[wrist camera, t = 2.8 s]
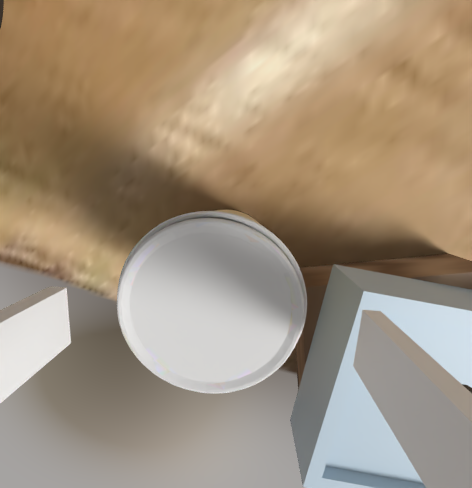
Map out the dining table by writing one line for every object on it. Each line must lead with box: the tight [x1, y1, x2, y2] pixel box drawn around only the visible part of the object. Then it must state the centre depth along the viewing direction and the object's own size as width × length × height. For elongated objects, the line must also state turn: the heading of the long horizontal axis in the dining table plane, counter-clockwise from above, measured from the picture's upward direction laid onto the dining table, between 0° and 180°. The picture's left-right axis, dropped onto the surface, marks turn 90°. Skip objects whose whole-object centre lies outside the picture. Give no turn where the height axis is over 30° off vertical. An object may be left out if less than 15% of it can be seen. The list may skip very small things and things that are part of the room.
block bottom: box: [296, 254, 472, 390], centre depth 23 cm, size 14×14×5 cm
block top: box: [290, 264, 472, 488], centre depth 18 cm, size 14×14×5 cm
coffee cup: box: [117, 210, 307, 393], centre depth 18 cm, size 9×9×12 cm
